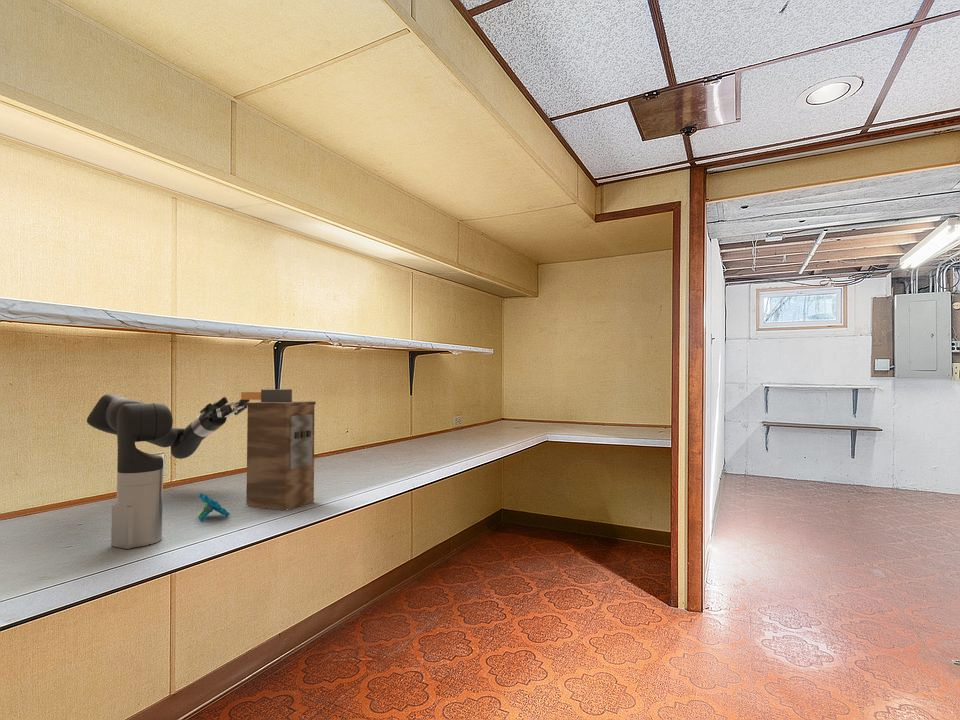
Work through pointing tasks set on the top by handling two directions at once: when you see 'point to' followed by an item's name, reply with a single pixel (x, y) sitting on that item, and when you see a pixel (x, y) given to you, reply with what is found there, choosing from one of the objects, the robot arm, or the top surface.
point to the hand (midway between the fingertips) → (237, 398)
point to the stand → (280, 454)
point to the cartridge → (269, 395)
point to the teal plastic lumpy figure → (210, 507)
